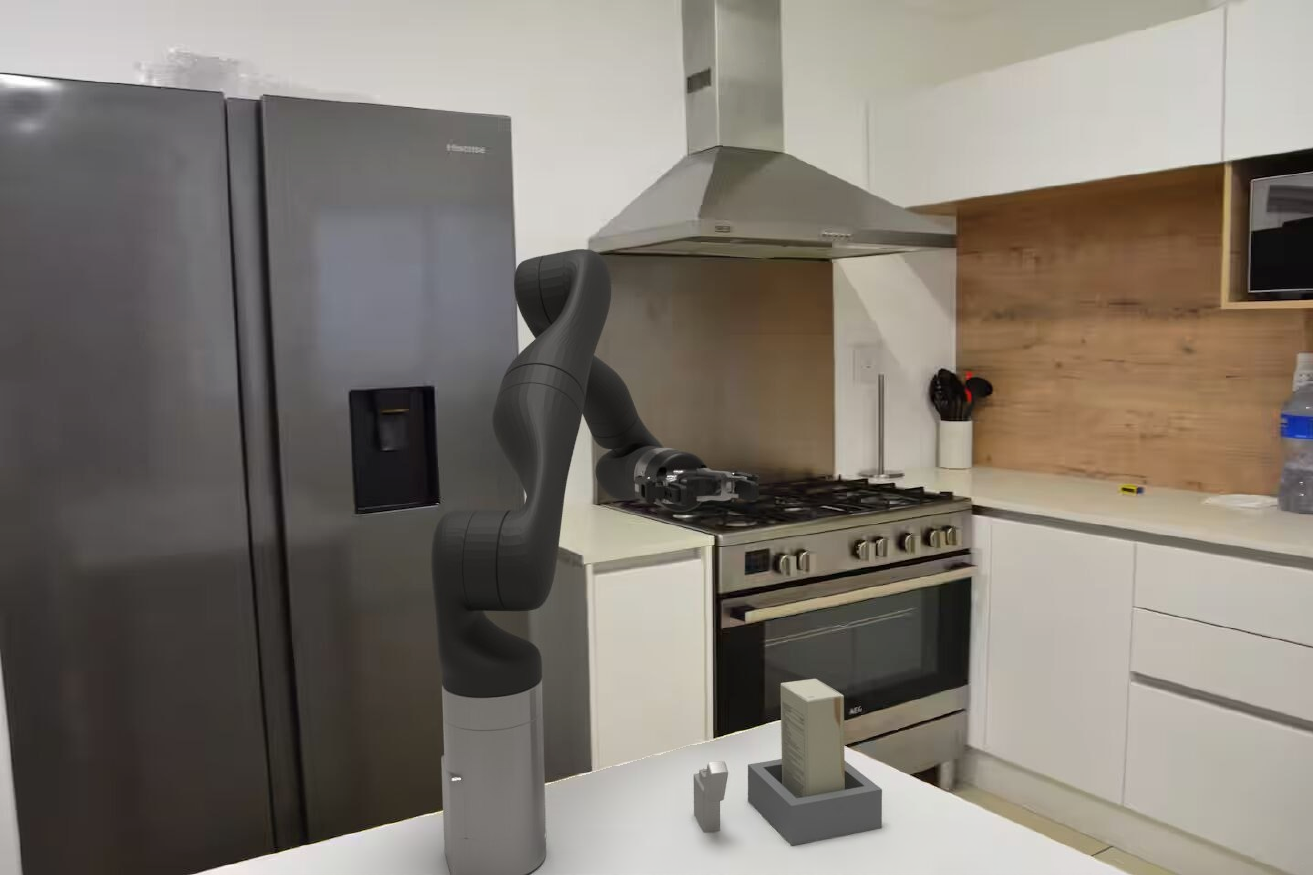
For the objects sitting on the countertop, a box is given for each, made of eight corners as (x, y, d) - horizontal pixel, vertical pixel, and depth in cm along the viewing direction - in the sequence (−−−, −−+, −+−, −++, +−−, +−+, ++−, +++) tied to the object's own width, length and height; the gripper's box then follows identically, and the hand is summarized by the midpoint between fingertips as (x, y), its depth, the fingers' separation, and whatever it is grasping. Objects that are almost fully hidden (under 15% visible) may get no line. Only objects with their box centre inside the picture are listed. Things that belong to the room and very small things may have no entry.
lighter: (693, 813, 102) (692, 738, 101) (709, 811, 102) (709, 737, 101) (711, 847, 95) (711, 767, 94) (729, 845, 95) (728, 765, 94)
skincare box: (846, 814, 99) (847, 696, 98) (808, 821, 97) (808, 701, 96) (816, 787, 105) (816, 675, 104) (779, 793, 103) (779, 680, 102)
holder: (791, 845, 95) (791, 805, 94) (748, 800, 104) (747, 764, 104) (881, 827, 98) (881, 789, 98) (831, 785, 107) (831, 750, 107)
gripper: (617, 451, 123) (659, 464, 108) (721, 446, 128) (777, 458, 113) (617, 510, 124) (660, 531, 109) (722, 504, 129) (777, 523, 113)
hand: (719, 494), depth 111 cm, fingers open, 8 cm apart
